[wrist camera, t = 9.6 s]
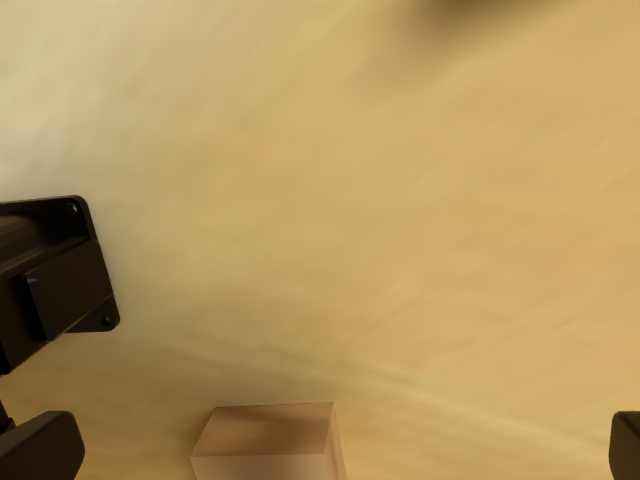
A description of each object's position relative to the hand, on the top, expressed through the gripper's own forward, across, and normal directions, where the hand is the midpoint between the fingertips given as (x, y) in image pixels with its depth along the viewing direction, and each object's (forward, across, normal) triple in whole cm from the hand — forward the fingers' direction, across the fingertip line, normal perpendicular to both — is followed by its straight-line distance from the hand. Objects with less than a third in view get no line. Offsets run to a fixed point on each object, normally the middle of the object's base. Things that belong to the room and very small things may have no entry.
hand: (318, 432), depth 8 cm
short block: (+12, +5, +12) cm, 18 cm away
